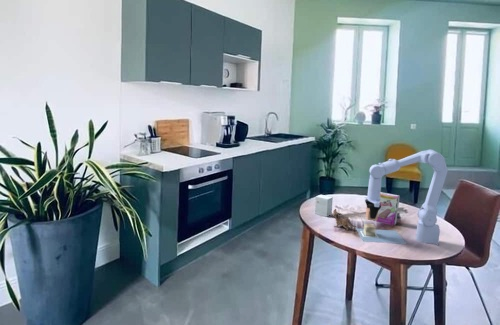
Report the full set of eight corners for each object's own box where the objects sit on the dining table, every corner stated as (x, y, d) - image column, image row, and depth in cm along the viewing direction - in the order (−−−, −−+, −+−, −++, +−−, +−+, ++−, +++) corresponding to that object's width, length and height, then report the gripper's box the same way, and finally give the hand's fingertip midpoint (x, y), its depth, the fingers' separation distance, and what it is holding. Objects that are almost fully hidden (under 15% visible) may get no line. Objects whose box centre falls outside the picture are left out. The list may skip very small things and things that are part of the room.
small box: (331, 215, 206) (333, 197, 204) (326, 217, 202) (328, 199, 200) (319, 211, 211) (320, 194, 209) (314, 213, 207) (315, 196, 205)
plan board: (395, 232, 184) (395, 230, 184) (406, 245, 168) (406, 243, 168) (355, 229, 185) (355, 228, 185) (362, 242, 170) (362, 241, 169)
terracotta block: (374, 217, 178) (375, 208, 177) (377, 220, 174) (378, 211, 173) (365, 216, 178) (366, 207, 178) (367, 219, 174) (368, 210, 173)
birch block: (372, 232, 180) (373, 224, 179) (374, 236, 176) (375, 227, 175) (363, 232, 180) (364, 223, 179) (365, 235, 176) (366, 227, 175)
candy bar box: (372, 222, 197) (376, 193, 193) (375, 219, 201) (378, 191, 197) (394, 227, 191) (398, 197, 187) (396, 224, 195) (400, 195, 192)
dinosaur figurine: (327, 226, 188) (328, 209, 186) (332, 224, 192) (334, 207, 190) (351, 234, 179) (353, 216, 177) (356, 231, 183) (358, 213, 182)
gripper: (362, 185, 181) (359, 211, 183) (369, 193, 166) (366, 221, 169) (376, 186, 180) (373, 212, 183) (385, 194, 166) (382, 222, 169)
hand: (371, 216), depth 176 cm, fingers closed on terracotta block, 4 cm apart
